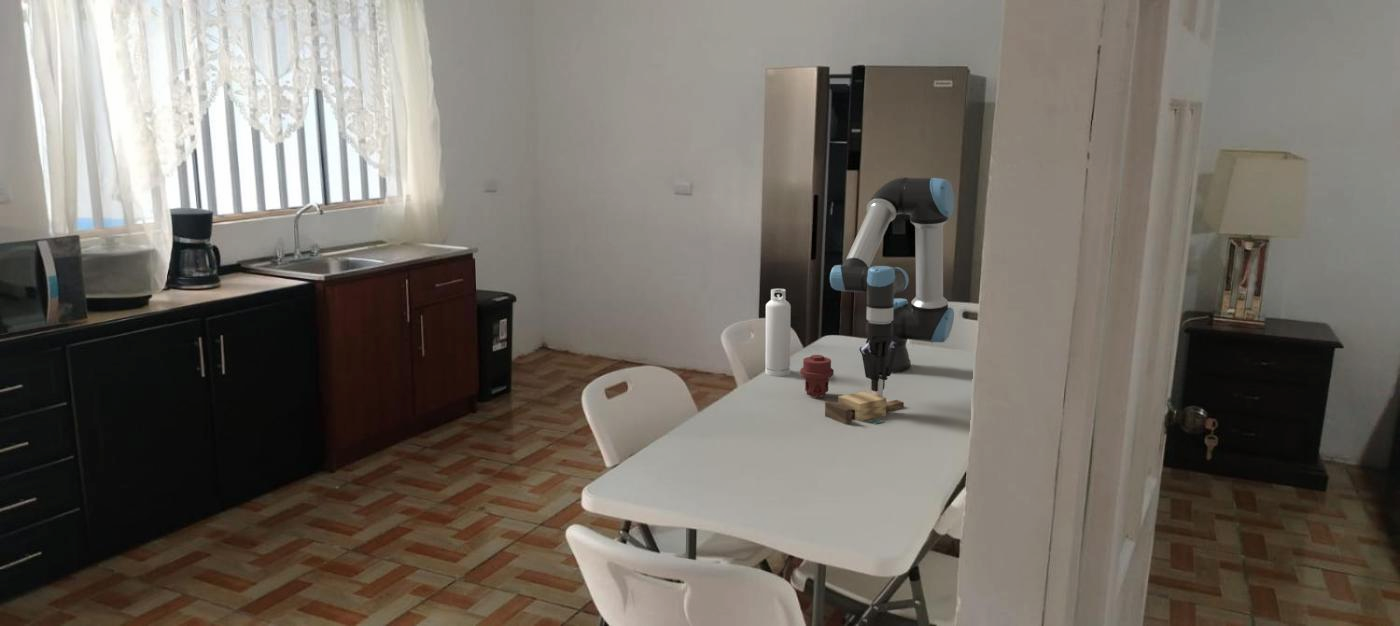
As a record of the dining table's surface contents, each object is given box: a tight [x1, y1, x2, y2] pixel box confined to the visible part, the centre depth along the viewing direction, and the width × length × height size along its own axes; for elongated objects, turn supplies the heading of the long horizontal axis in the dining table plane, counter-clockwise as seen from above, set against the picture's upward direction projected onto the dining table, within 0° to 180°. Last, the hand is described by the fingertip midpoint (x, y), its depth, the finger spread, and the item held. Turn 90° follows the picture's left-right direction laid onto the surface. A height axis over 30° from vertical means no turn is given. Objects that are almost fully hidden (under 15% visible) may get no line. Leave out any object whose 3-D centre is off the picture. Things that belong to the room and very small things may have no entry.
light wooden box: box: [837, 390, 887, 422], centre depth 277 cm, size 10×9×5 cm
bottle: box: [764, 288, 792, 377], centre depth 319 cm, size 8×8×28 cm
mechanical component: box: [799, 354, 834, 399], centre depth 295 cm, size 12×10×10 cm
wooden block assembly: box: [824, 399, 905, 425], centre depth 278 cm, size 24×18×4 cm
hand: (877, 401), depth 279 cm, fingers closed
